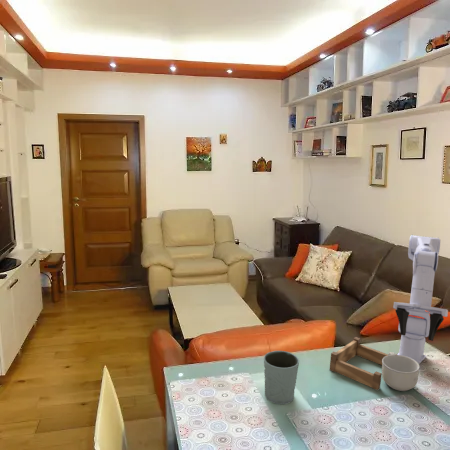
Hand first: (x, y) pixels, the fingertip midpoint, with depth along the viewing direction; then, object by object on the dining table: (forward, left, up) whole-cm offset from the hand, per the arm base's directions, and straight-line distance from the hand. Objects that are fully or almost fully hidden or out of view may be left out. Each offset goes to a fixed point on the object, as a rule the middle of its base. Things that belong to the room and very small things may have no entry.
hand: (416, 337), depth 123 cm
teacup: (-7, -6, -20) cm, 22 cm away
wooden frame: (-7, -16, -20) cm, 27 cm away
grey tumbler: (+26, -28, -20) cm, 43 cm away
